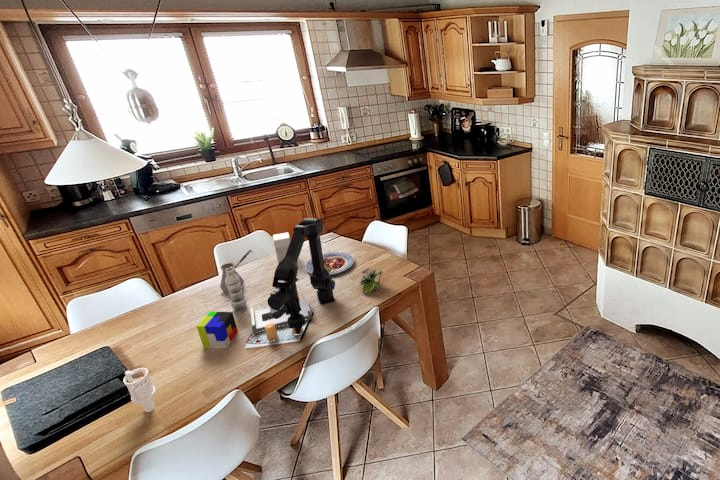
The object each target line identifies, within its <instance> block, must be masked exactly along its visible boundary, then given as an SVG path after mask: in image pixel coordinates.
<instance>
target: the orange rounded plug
mask: <svg viewBox="0 0 720 480" xmlns="http://www.w3.org/2000/svg"><path fill="white" fill-rule="evenodd" d="M264 332H265V333H266V334H265V335H266V338H267V341H268V340H269V341H273V340H276V339H277V338H278V339H279V336H278V332H277V328H276V327H275V324H268V325H266V326H265V331H264Z"/></svg>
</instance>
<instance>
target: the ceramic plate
mask: <svg viewBox="0 0 720 480" xmlns="http://www.w3.org/2000/svg"><path fill="white" fill-rule="evenodd" d="M322 254H323V260H324V267H325V269H326V270H327V271H328V272H329V274H330V276H332V275H336V274H339V273H342V272H344V271H346V270H348V269H350V268H351V267H352V265H354V262H355V259H354V257H353V256H352V255H351V254H349V253H346V252H341V251H340V252H339V251H334V252H333V251H332V252H325V253H322ZM345 261H346V266H345V267H344V268H342V269H341V270H339V271H336V270H335V269H339V268H341V267H342V266H343V265H344V263H345ZM304 268H305V270H306V272H308V273H309V274H311V275H312V273H313V265H312V259H311V258H309V260H308V261H307V262H306V263H305V265H304ZM331 270H335V271H336V272H334V271H333V272H331Z"/></svg>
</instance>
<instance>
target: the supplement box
mask: <svg viewBox="0 0 720 480" xmlns="http://www.w3.org/2000/svg"><path fill="white" fill-rule="evenodd" d="M272 240H273V246H274V252H275V254H276V259H277V262H278V263H277V265H278V264H279V262H280V261H281V260H283V259H284V257H285V255H286V252H287V249H288V247H289V244H290V241H291V237H290V234H289V232H288V231H286V232H283V233H282V232H281V233H276V234H273V235H272Z"/></svg>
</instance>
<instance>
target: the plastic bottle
mask: <svg viewBox="0 0 720 480" xmlns="http://www.w3.org/2000/svg"><path fill="white" fill-rule="evenodd" d="M235 270H236V269H235ZM235 270H234V268H233V267H231V268H228V269H226V270H225V271H226V275H227V276H226V278H225V284H226V286H227V288H228V290H229V296H230V297H229V298H230V305H231V307H232V309H233V310H234V311H242V310H244V309H245V308H246V306H247V299H246V298H245V296H244V294H243V293H244V292H243V289H242V287H241V283H240V277H239V276H238V275H237V274H235Z"/></svg>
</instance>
